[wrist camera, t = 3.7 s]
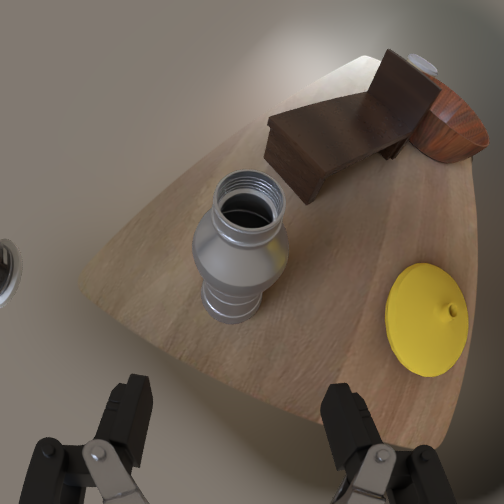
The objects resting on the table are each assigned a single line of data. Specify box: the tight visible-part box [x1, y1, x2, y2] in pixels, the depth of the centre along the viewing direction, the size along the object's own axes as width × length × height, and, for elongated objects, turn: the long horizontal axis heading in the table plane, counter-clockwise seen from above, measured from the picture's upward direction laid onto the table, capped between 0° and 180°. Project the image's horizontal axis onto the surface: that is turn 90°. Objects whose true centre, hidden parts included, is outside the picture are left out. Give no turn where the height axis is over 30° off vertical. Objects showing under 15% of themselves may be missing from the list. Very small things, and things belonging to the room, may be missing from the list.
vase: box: [385, 263, 468, 377], centre depth 30 cm, size 16×16×7 cm
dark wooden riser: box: [264, 49, 442, 205], centre depth 35 cm, size 24×11×18 cm, turn 125°
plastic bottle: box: [192, 169, 289, 324], centre depth 22 cm, size 6×7×20 cm
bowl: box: [409, 71, 490, 163], centre depth 46 cm, size 25×25×11 cm
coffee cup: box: [406, 53, 438, 78], centre depth 54 cm, size 9×9×12 cm
